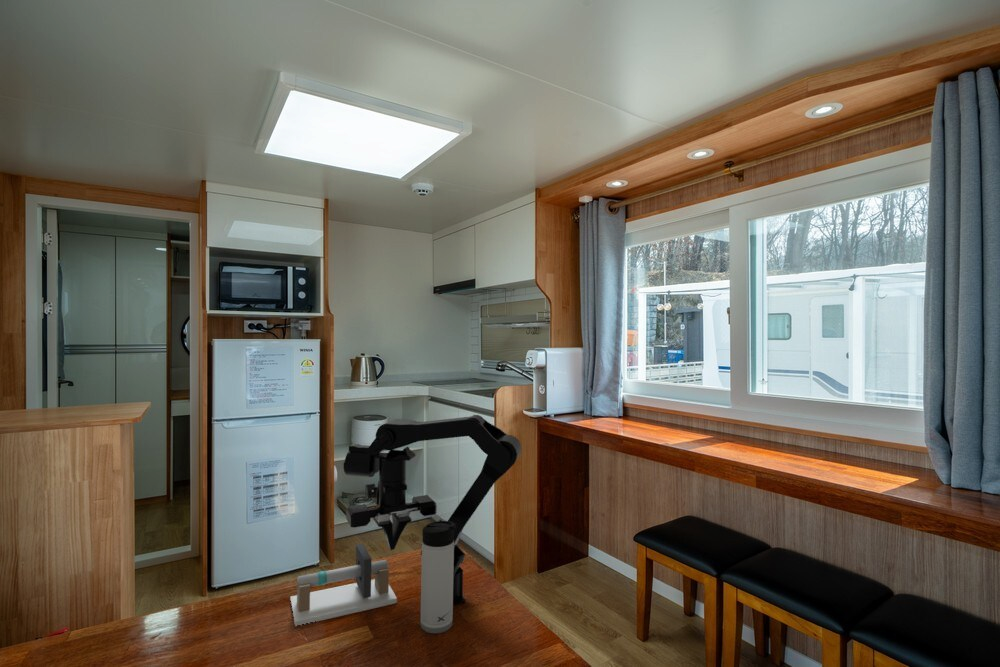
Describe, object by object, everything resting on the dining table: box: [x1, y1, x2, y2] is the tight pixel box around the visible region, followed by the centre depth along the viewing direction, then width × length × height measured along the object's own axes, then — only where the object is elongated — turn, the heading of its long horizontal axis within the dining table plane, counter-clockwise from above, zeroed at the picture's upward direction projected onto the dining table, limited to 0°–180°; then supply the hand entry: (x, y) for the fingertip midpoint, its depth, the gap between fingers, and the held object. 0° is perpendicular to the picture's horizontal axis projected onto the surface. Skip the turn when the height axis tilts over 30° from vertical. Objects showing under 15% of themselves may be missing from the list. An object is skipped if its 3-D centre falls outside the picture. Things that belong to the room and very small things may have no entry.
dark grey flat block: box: [355, 543, 372, 598], centre depth 110 cm, size 2×8×8 cm, turn 27°
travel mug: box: [419, 520, 456, 634], centre depth 101 cm, size 6×7×20 cm
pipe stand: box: [289, 559, 398, 627], centre depth 108 cm, size 20×10×7 cm, turn 117°
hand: (391, 549), depth 113 cm, fingers closed
